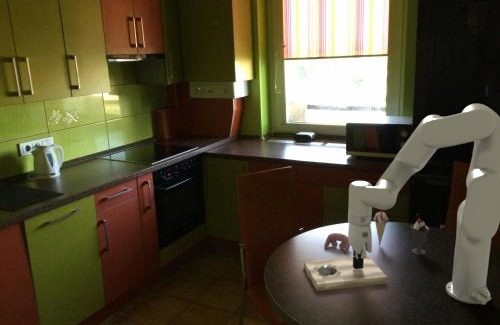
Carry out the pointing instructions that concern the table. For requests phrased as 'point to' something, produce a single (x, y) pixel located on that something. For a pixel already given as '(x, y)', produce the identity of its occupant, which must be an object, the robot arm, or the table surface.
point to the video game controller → (337, 237)
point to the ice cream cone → (380, 224)
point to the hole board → (344, 274)
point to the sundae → (419, 235)
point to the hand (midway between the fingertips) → (358, 267)
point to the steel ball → (325, 270)
